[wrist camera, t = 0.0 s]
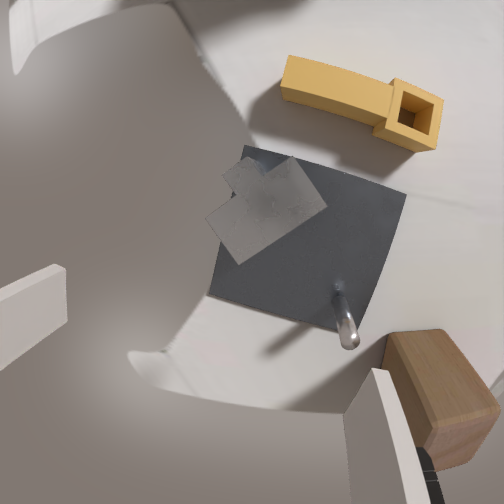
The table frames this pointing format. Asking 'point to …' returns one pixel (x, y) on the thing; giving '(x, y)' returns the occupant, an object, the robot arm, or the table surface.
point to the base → (319, 253)
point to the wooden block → (440, 395)
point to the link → (365, 101)
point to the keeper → (263, 206)
